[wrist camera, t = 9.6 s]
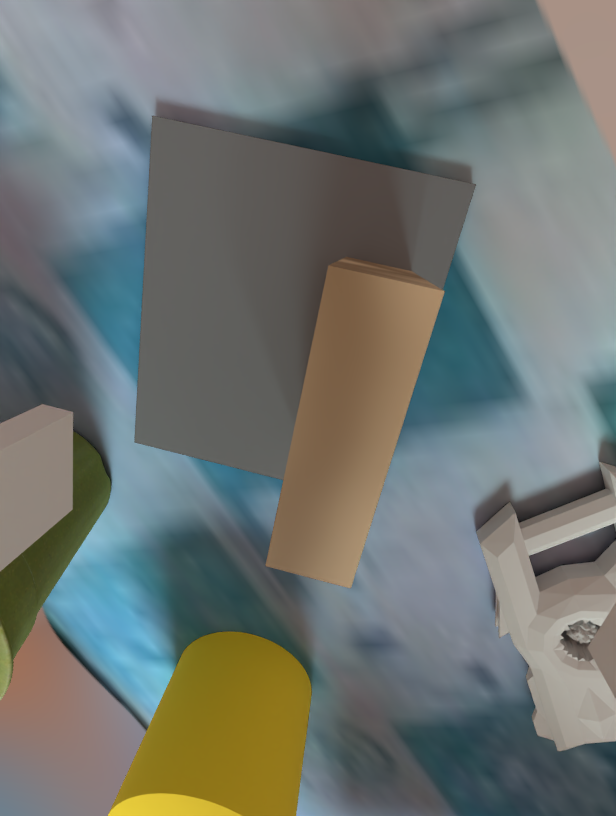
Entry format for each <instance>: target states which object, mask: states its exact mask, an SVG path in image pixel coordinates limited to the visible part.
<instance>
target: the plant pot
mask: <svg viewBox="0 0 616 816" xmlns="http://www.w3.org/2000/svg"><path fill="white" fill-rule="evenodd" d="M110 492H111V483H110V478H109V477H108V476H107V474H106V472H105V469H104V466H103V463H102V459H101V457H100V455H99V453H98V452H97V451H96V450H95V448H94V447H93V446H92V445H91V444H90V443H89V442H87V441H86V440H85V439H84V438H83V437H81V436H80V435H79V434H77V433H76V432H74V431H73V510H71V511H70V512H69V513H68V514H67V515H66V516H64V517H63V518H62V519H61V520H60V521H59V522H57V523H56V524H55V525H54V526H53V527H52V528H50V529H49V530H48V531H47V532H46V533H45V534H43V535H42V536H41V537H40V538H39V539H38V540H36V541H35V542H34V543H33V544H32V545H31V546H29V547H28V548H27V549H26V550H25V551H24V552H22V553H21V554H20V555H19V556H18V557H17V558H15V559H14V560H13V561H12V562H11V563H10V564H8V565H7V566H6V567H5V568H4V569H3V570H1V571H0V700H1V699H2V697H3V696H4V694H5V693H6V691H7V689H8V686H9V684H10V681H11V678H12V673H13V659H14V658H15V656H16V654H17V652H18V651H19V649H20V648H21V646H22V644H23V643H24V641H25V640H26V638H27V636H28V635H29V633H30V632H31V630H32V627H33V625H34V623H35V620H36V616H37V613H38V611H39V610H40V608H41V607H42V605H43V604H44V602H45V600H46V599H47V597H48V596H49V594H50V592H51V591H52V589H53V588H54V586H55V585H56V583H57V582H58V580H59V579H60V577H61V576H62V574H63V572H64V571H65V569H66V568H67V566H68V565H69V563H70V561H71V560H72V558H73V557H74V555H75V554H76V552H77V551H78V549H79V548H80V546H81V544H82V543H83V541H84V540H85V538H86V537H87V535H88V534H89V532H90V531H91V529H92V527H93V526H94V524H95V523H96V521H97V520H98V518H99V517H100V515H101V514H102V512H103V510H104V509H105V507H106V505H107V503H108V501H109V498H110Z"/></svg>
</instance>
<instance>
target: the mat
mask: <svg viewBox="0 0 616 816" xmlns="http://www.w3.org/2000/svg"><path fill="white" fill-rule="evenodd" d="M475 186H476V184H472V183H467V182H462V181H458V180H453V179H448V178H444V177H439V176H434V175H429V174H425V173H420V172H415V171H411V170H406V169H401V168H397V167H392V166H387V165H382V164H378V163H373V162H368V161H364V160H359V159H354V158H349V157H345V156H340V155H335V154H331V153H326V152H321V151H317V150H312V149H307V148H302V147H298V146H293V145H288V144H284V143H279V142H274V141H269V140H265V139H260V138H255V137H251V136H246V135H241V134H237V133H232V132H227V131H222V130H218V129H213V128H208V127H204V126H199V125H194V124H189V123H185V122H180V121H175V120H171V119H166V118H161V117H157V116H152V132H151V150H150V168H149V186H148V205H147V223H146V241H145V259H144V277H143V296H142V314H141V332H140V350H139V369H138V387H137V405H136V423H135V441H134V442H135V443H139V444H143V445H147V446H151V447H155V448H159V449H163V450H167V451H171V452H175V453H179V454H183V455H186V456H190V457H194V458H198V459H202V460H206V461H210V462H214V463H218V464H222V465H226V466H230V467H234V468H238V469H242V470H246V471H250V472H253V473H257V474H261V475H265V476H269V477H273V478H277V479H281V480H284V475H285V470H286V465H287V461H288V456H289V451H290V446H291V441H292V437H293V432H294V427H295V422H296V418H297V413H298V408H299V403H300V399H301V394H302V389H303V384H304V380H305V375H306V370H307V365H308V360H309V356H310V351H311V346H312V341H313V337H314V332H315V327H316V322H317V318H318V313H319V308H320V303H321V298H322V294H323V289H324V284H325V279H326V275H327V270H328V265H330V264H332V263H335V262H337V261H339V260H341V259H343V258H345V257H349V258H354V259H359V260H363V261H368V262H372V263H377V264H381V265H386V266H390V267H395V268H399V269H404V270H408V271H412V272H414V273H415V274H417V275H419V276H420V277H422V278H424V279H425V280H427V281H429V282H430V283H432V284H434V285H435V286H437V287H438V288H440V289H442V290H443V287H444V284H445V281H446V277H447V274H448V271H449V268H450V265H451V262H452V259H453V255H454V252H455V249H456V246H457V243H458V240H459V237H460V233H461V230H462V227H463V224H464V221H465V218H466V214H467V211H468V208H469V205H470V202H471V199H472V196H473V192H474V189H475Z"/></svg>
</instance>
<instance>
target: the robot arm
mask: <svg viewBox="0 0 616 816" xmlns="http://www.w3.org/2000/svg"><path fill="white" fill-rule="evenodd" d="M71 510H73V412H71V411H67V410H63V409H60V408H56V407H52V406H48V405H44V404H42V405H39V406H37V407H35V408H33V409H31V410H28V411H26V412H24V413H22V414H20V415H18V416H15V417H13V418H11V419H9V420H7V421H4V422H2V423H0V571H1V570H3V569H4V568H5V567H6V566H7V565H8V564H10V563H11V562H12V561H13V560H14V559H15V558H17V557H18V556H19V555H20V554H21V553H22V552H24V551H25V550H26V549H27V548H28V547H29V546H31V545H32V544H33V543H34V542H35V541H36V540H38V539H39V538H40V537H41V536H42V535H43V534H45V533H46V532H47V531H48V530H49V529H50V528H52V527H53V526H54V525H55V524H56V523H57V522H59V521H60V520H61V519H62V518H63V517H64V516H66V515H67V514H68V513H69V512H70V511H71ZM588 650H589V652H590V653H591V655H592V657H593V659H594V661H595V662H596V664H597V666H598V668H599V670H600V671H601V673H602V675H603V677H604V679H605V681H606V682H607V684H608V686H609V688H610V690H611V691H612V693H613V695H614V697H615V699H616V603H615V604H614V606H613V608H612V609H611V611H610V612H609V614H608V616H607V617H606V619H605V620H604V622H603V624H602V625H601V627H600V628H599V630H598V632H597V633H596V635H595V636H594V638H593V640H592V641H591V643H590V644H589V646H588Z"/></svg>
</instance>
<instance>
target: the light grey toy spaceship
mask: <svg viewBox="0 0 616 816" xmlns="http://www.w3.org/2000/svg"><path fill="white" fill-rule="evenodd" d="M599 464H600V468H601V472H602V476H603V480H604V484H605V489H604V490H602V491H599V492H597V493H594V494H591V495H589V496H586V497H584V498H581V499H579V500H576V501H574V502H571V503H568V504H566V505H563V506H561V507H558V508H556V509H553V510H551V511H548V512H546V513H543V514H540V515H538V516H535V517H533V518H530V519H528V520H525V521H523V522H520V523H519V522H518V519H517V516H516V513H515V511H514V509H513V507H512V505H511V503H510V502H509V503H508V504H507V505H505V506H504V507H503V508H502V509H501V510H500V511H499V512H498V513H496V514H495V515H494V516H493V517H492V518H491V519H490V520H489V521H487V522H486V523H485V524H484V525H483V526H482V527H481V528H480V529H478V530H477V531H476V533H477V536H478V540H479V543H480V546H481V549H482V552H483V555H484V558H485V561H486V564H487V567H488V570H489V573H490V576H491V579H492V582H493V585H494V588H495V591H496V605H495V626H496V627H497V626H499V638H500V637H502V636H504V635H506V634H507V633H510V635H511V638H512V641H513V644H514V645H515V647H516V648H517V650H518V651H519V652H520V654H521V655H522V656H523V658H524V659H525V660H526V662H527V663H528V664H529V668H528V671H527V674H526V679H527V682H528V685H529V688H530V691H531V694H532V697H533V700H534V703H535V706H536V707H535V710H534V712H533V714H532V720H533V723H534V726H535V729H536V732H537V735H538V736H541V737H544V738H547V739H550V740H554V742H555V745H556V747H557V750H558V751H563V750H567V749H570V748H573V747H577V746H580V745H583V744H588V743H600V742H611V741H616V699H615V697H614V695H613V693H612V691H611V690H610V688H609V686H608V684H607V682H606V681H605V679H604V677H603V675H602V673H601V671H600V670H599V668H598V666H597V664H596V662H595V661H594V659H593V657H592V655H591V653H590V652H589V650H588V646H589V644H590V643H591V641H592V640H593V638H594V636H595V635H596V633H597V632H598V630H599V628H600V627H601V625H602V624H603V622H604V620H605V619H606V617H607V616H608V614H609V612H610V611H611V609H612V608H613V606H614V604H615V603H616V540H615V541H614V542H613V543H612V544H611V545H610V546H609V547H608V548H607V549H606V550H605V551H604V552H603V554H602V555H601V556H600V557H599V558H598V559H597V560H596V561H595V562H588V563H579V564H570V565H561V566H558V567H556V568H554V569H552V570H550V571H548V572H546V573H543V574H541V575H539V576H537V577H535V575H534V572H533V569H532V565H531V562H530V559H529V556H530V555H533V554H535V553H538V552H541V551H543V550H546V549H549V548H551V547H554V546H556V545H559V544H562V543H564V542H567V541H569V540H572V539H575V538H577V537H580V536H583V535H585V534H588V533H590V532H593V531H596V530H598V529H601V528H603V527H606V526H609V525H611V524H614V526H615V530H616V467H615V466H612V465H609V464H606V463H602V462H599Z"/></svg>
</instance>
